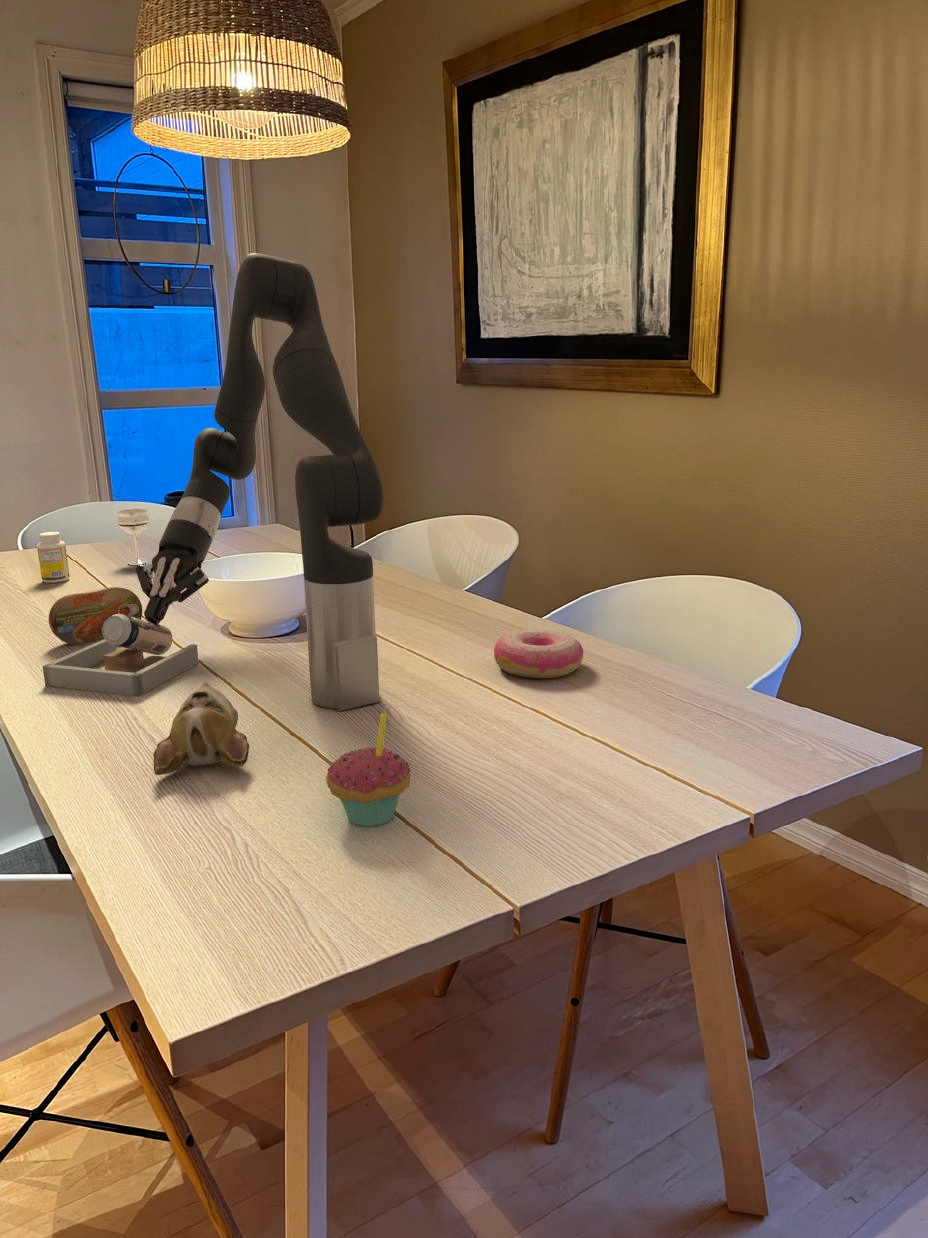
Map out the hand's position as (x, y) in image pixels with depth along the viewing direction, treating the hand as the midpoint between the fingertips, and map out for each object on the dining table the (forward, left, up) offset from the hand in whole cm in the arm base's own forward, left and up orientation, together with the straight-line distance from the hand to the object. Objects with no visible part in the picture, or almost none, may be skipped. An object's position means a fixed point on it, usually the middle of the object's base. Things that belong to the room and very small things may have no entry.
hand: (151, 620), depth 148 cm
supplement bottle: (+66, +3, -6) cm, 67 cm away
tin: (+16, +5, -6) cm, 18 cm away
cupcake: (-67, -4, -6) cm, 67 cm away
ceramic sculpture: (-43, +6, -6) cm, 44 cm away
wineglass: (+73, -16, -6) cm, 75 cm away
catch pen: (-5, +6, -6) cm, 10 cm away
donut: (-39, -46, -6) cm, 61 cm away
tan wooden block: (-4, +6, -6) cm, 9 cm away
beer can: (+2, -2, -4) cm, 5 cm away
